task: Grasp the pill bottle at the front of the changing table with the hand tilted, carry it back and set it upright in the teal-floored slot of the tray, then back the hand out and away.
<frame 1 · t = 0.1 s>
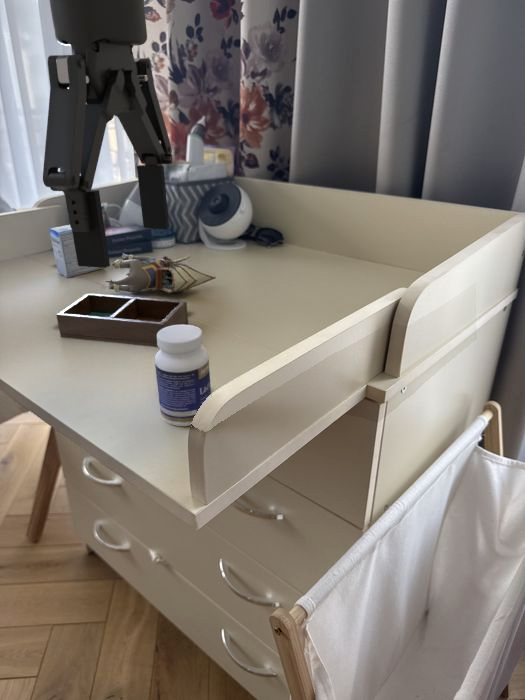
hand: (128, 245, 54), 19 cm above the table, tool pointing down, fingers open, 13 cm apart
figurine: (165, 290, 96), on the table
pill bottle: (186, 414, 61), on the table
medicine box: (81, 271, 105), on the table
tray: (125, 329, 81), on the table
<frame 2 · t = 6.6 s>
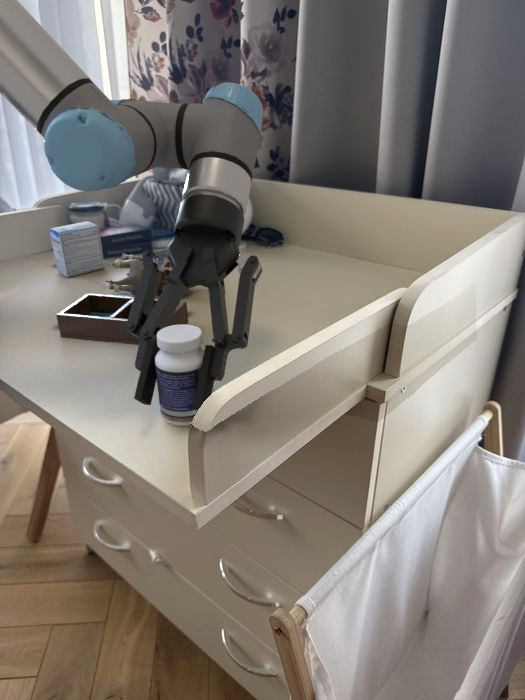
hand: (171, 405, 56), 3 cm above the table, tool tilted 45°, fingers closed on pill bottle, 6 cm apart
pill bottle: (186, 414, 61), on the table, touching gripper
everything else where it was.
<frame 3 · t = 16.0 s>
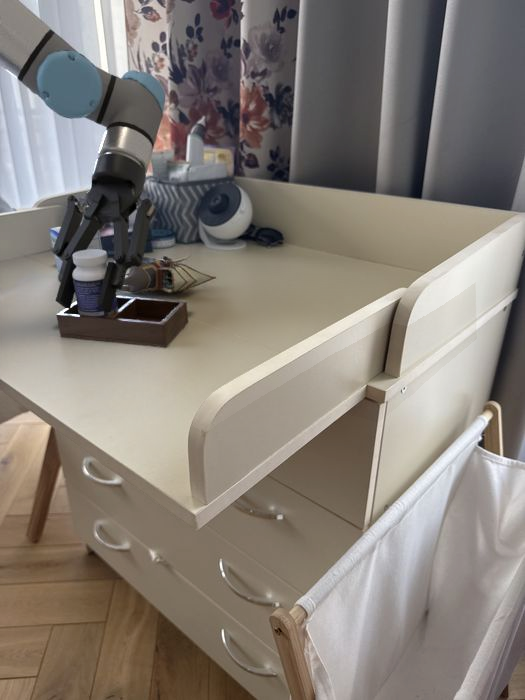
hand: (83, 306, 76), 5 cm above the table, tool tilted 45°, fingers closed on pill bottle, 6 cm apart
pill bottle: (100, 319, 81), point 1 cm above the table, touching gripper
everything else where it was.
when the fingers open (5 cm above the table, at t = 18.7 s): pill bottle stays where it is, resting on tray.
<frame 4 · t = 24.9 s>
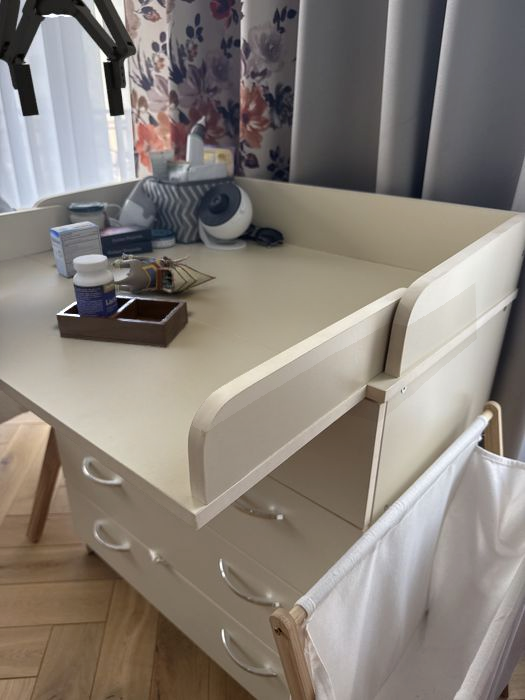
hand: (73, 115, 76), 29 cm above the table, tool pointing down, fingers open, 13 cm apart
pill bottle: (100, 324, 81), point 1 cm above the table, touching tray
everything else where it was.
at the end: pill bottle 0.1 cm from the target spot in the tray, point 0.5 cm above the tray's base; pill bottle tilted 0°; the gripper is holding nothing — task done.
